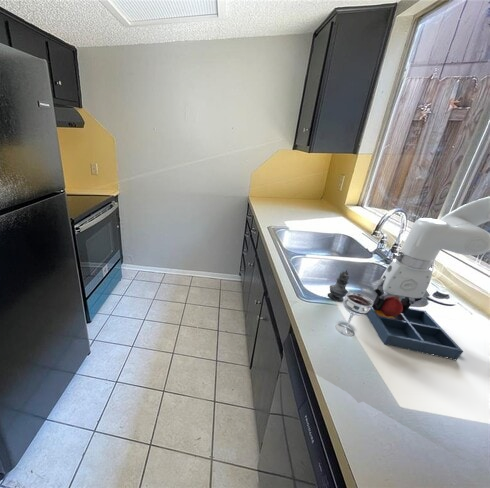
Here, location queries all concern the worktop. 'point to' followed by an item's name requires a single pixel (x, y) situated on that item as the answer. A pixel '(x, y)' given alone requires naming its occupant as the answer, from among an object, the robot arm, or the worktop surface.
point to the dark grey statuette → (339, 287)
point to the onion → (392, 306)
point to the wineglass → (354, 309)
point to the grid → (413, 332)
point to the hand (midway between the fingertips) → (389, 308)
